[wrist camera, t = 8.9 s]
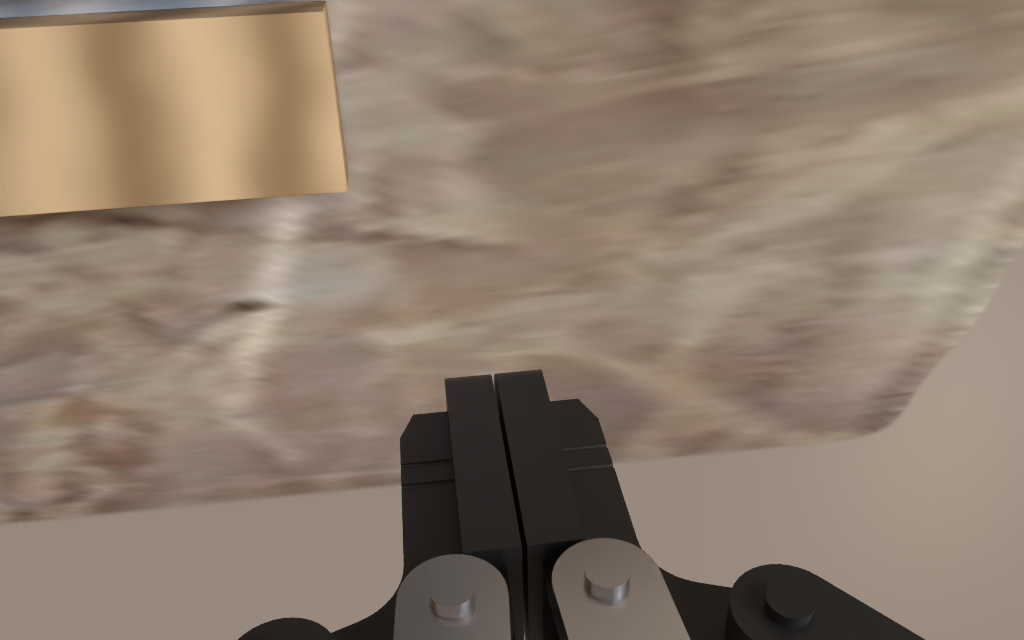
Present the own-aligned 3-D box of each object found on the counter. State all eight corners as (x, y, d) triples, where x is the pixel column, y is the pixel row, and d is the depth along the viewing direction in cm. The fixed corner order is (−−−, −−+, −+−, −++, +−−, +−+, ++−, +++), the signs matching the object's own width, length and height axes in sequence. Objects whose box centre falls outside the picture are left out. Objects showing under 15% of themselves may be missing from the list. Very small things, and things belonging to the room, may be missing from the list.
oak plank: (326, 1, 38) (323, 11, 36) (348, 174, 42) (347, 191, 40) (-74, 22, 36) (-96, 34, 35) (-11, 199, 40) (-28, 218, 39)
